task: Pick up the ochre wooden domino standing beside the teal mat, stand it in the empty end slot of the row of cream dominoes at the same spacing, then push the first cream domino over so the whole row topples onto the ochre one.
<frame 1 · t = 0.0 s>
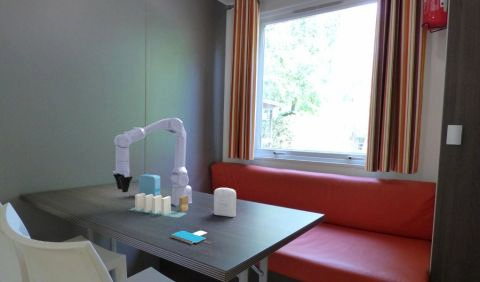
hand: (122, 190, 135), 10 cm above the table, tool pointing down, fingers open, 7 cm apart
photo printer: (224, 215, 133), on the table
cream domino 3: (157, 211, 136), resting on teal mat
teal mat: (157, 212, 136), on the table
data package: (149, 196, 167), on the table
cream domino 1: (140, 208, 140), resting on teal mat
cream domino 2: (148, 210, 138), resting on teal mat
ochre domino: (183, 211, 138), on the table
phone stand: (192, 238, 107), on the table
cream domino 4: (166, 212, 134), resting on teal mat
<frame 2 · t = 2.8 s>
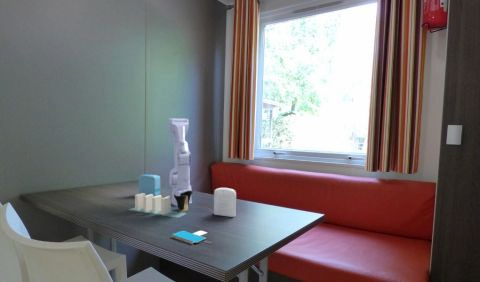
hand: (183, 208, 138), 2 cm above the table, tool pointing down, fingers closed on ochre domino, 5 cm apart
ochre domino: (183, 211, 138), on the table, touching gripper
everything else where it was.
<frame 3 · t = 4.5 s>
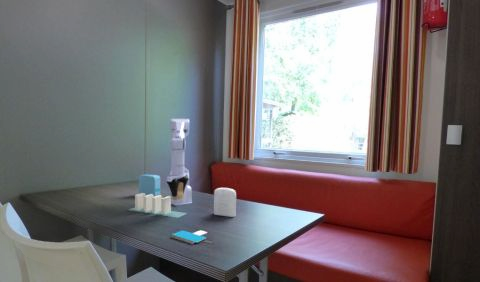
hand: (177, 195, 133), 9 cm above the table, tool pointing down, fingers closed on ochre domino, 5 cm apart
ochre domino: (178, 198, 133), point 7 cm above the table, touching gripper
everything else where it was.
when the fingers open (3 cm above the table, at t = 6.5 s): ochre domino stays where it is, resting on teal mat.
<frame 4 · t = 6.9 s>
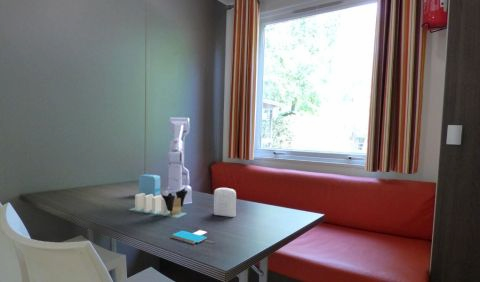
hand: (175, 208, 132), 3 cm above the table, tool pointing down, fingers open, 7 cm apart
ochre domino: (175, 214, 132), resting on teal mat
everything else where it was.
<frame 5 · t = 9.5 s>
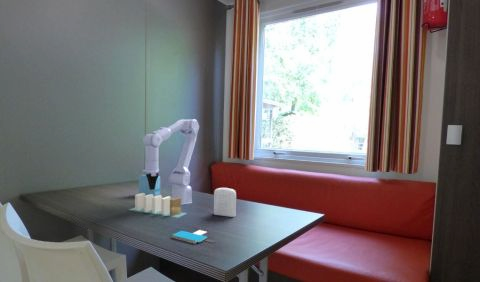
hand: (152, 189, 136), 10 cm above the table, tool pointing down, fingers closed
nothing on the table moved.
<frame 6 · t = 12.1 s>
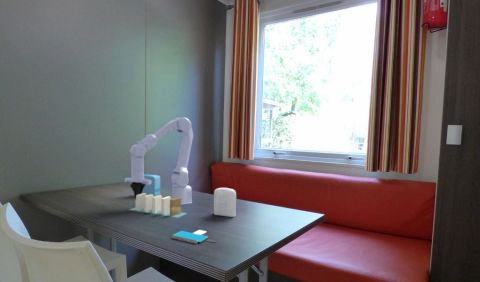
hand: (138, 198, 140), 5 cm above the table, tool pointing down, fingers closed
cream domino 1: (140, 208, 140), resting on teal mat, tilted 7°, touching gripper
everything else where it was.
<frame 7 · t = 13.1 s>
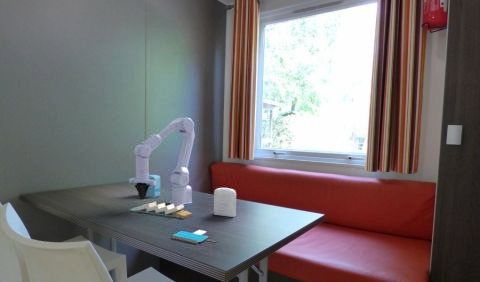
hand: (142, 199, 139), 5 cm above the table, tool pointing down, fingers closed
cream domino 3: (158, 210, 135), point 1 cm above the table, tilted 71°, touching teal mat
cream domino 1: (141, 207, 139), point 1 cm above the table, tilted 72°, touching cream domino 2, teal mat
cream domino 2: (150, 208, 137), point 1 cm above the table, tilted 71°, touching cream domino 1, teal mat
ochre domino: (176, 212, 131), point 1 cm above the table, tilted 94°, touching teal mat
cream domino 4: (168, 211, 133), point 1 cm above the table, tilted 67°
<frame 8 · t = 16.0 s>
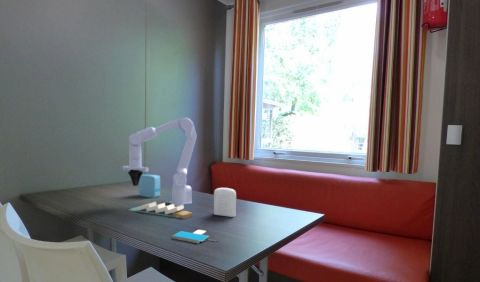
hand: (135, 185, 145), 10 cm above the table, tool pointing down, fingers closed
cream domino 3: (158, 210, 135), point 1 cm above the table, tilted 71°, touching cream domino 2, cream domino 4, teal mat
cream domino 2: (150, 208, 137), point 1 cm above the table, tilted 71°, touching cream domino 1, cream domino 3, teal mat
ochre domino: (176, 212, 131), point 1 cm above the table, tilted 90°, touching cream domino 4, teal mat
cream domino 4: (168, 211, 134), point 1 cm above the table, tilted 69°, touching cream domino 3, ochre domino, teal mat
at the end: ochre domino tilted 90°; cream domino 1 tilted 72°; ochre domino inside the target area (0.8 cm from its centre), point 1.2 cm above the table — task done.
